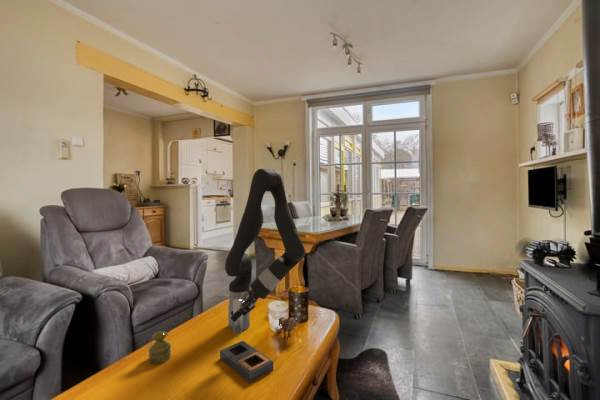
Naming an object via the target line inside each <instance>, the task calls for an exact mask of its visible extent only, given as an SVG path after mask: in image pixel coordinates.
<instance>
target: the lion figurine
mask: <svg viewBox="0 0 600 400" xmlns="http://www.w3.org/2000/svg"><path fill="white" fill-rule="evenodd" d="M278 319H279V318H278ZM280 324H281V325H280ZM298 324H299V323H298V322H297V321H296V320H295V317H288V318H286V317H285V316H284V317H281V318H280V319H279V326H280V327H281V326H282V328H281V329H282V331H283V339H284V340H286V339H287V336H288V337H289V338H291V337H292V335H291V332H292V331H293V330H294V329H295V328H297V326H298ZM281 329H280V330H278V329H277V333H279V334H280V333H281Z"/></svg>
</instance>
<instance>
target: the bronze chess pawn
mask: <svg viewBox="0 0 600 400" xmlns="http://www.w3.org/2000/svg"><path fill="white" fill-rule="evenodd" d="M167 336H168V333H167V331H164V330H163V331H162V330H160V331H159V330H158V331H157V332H155V333H153V334H152V335H151V339H152V340H155V341H154V343H153V344H151V345H150V347H149V348H148V362H149V363H150V364H153V365H159V364H163V363H165V362H167V361H168V360H170V358H171V356H172V354H171V352H172V349H171V348H172V345H171V343H170V342H168V341H166V340H165V338H167Z"/></svg>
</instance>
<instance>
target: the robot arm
mask: <svg viewBox="0 0 600 400" xmlns="http://www.w3.org/2000/svg"><path fill="white" fill-rule="evenodd" d="M249 188H250V189H249V193H248V196H247V200H246V204H245V208H244V210H243V211H244V212H243V214H242V217H241V220H240V223H239V226H238V230H237V233H236V235H235V238H234V241H233V244H232V246H231V247H230V248H231V249H230V250H229V253H228V255H227V257H226V260H225V263H224V270H225V274H227V276H229V277H234V279H233V280H232V281H231V282H230V283H229V285H228V309H227V310H228V315H227V316H228V328H229V330H232V331H233V321H234V322H235V321H236V320H237V319H238V318H239V317H240V316H241V315H243V331H244V330H246V329H249V327H250V323H251V322H250V317H251V315H250V314H251V313H250V312H251V311H252V310H253V309H255V308H256V303H257V302H258V300H259V298H260V299H262V300H265V299H266V298H267V297H268V296H269V295H270V294H271V292H272V291H273V290H274V289H275V288H277V287H278V285H279V284H280V282H281V281H282V280H283V279H284V278H285V277H286V276H287V275H288V274H289V272H290V271H291V270H292V269H293V268H295V266H297V265H298V264H299V263H300V262H301V261H302V260H303V259H304V258H305V256H306V248H305V246H304V244H303V242H302V239H301V238H300V235H299V233H298V229H297V226H296V223H295V221H294V219H293V215H292V213H291V210H290V206H289V204H288V200H287V194H286V191H285V186H284V181H283V178H282V176H281V174H280V172H279V171H277V170H275V169H269V168H259V169H257V170H256V171H255V172H254V174H253V176H252V178H251V183H250V187H249ZM267 192H270V194H271V195H272V197H273V201H274V215H273V216H274V223H275V225H276V228H277V231H278V233H279V236H280V237H281V240H282V244H283V248H284V251H285V252H284V253H282V255H281V256H280V257H277V258H276V259H275V260H273V262H272V263H270V265H268V267H267V268H266V269H264V270H263V271H262V272H261V273H259V275H258V276H257V277H256V278H255V279H254V280H253V281H252V275H253V274H252V273H253V262H252V259H251V257H250V255H249V254H248V253H246V252H247V250H248V249H249V247H250V246H251V245H252V244H253V243H254V242H255V240H256V239H257V238H258V236H259V234H260V232H261V230H262V226H263V223H264V213H263V209H262V208H263V207H262V203H263V198H264V195H265V194H266V193H267ZM250 289H251V290H250ZM235 298H242V299H243V302H242V306H241V307H240V308H239V309H238V310H237V311H236V312H235V313H234V314H233V299H235Z"/></svg>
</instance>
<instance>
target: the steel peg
mask: <svg viewBox="0 0 600 400" xmlns="http://www.w3.org/2000/svg"><path fill="white" fill-rule="evenodd" d="M242 302H243V299H242V298H235V299H233V314H234V313H235V312H236V311H237V310H238V309H239V308H240V307H241V306H242ZM243 332H244V330H243V315H241V316H240V317H239V318H238V319H237V320H236V321H235V322H234V321H233V330H232V333H233V334H235V335H240V334H242V333H243Z"/></svg>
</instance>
